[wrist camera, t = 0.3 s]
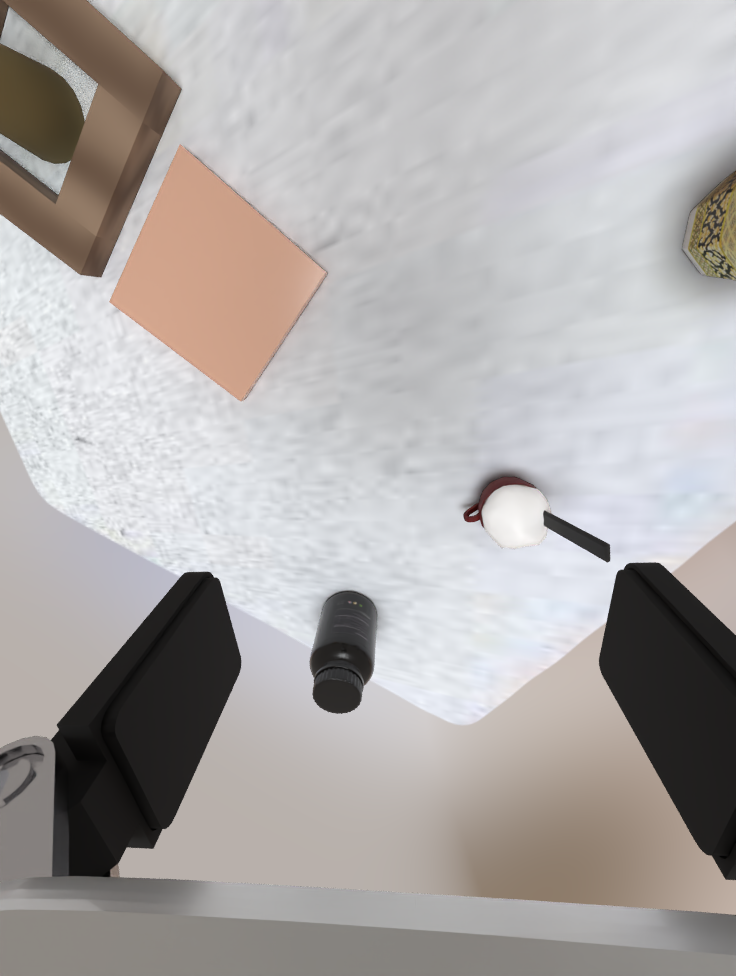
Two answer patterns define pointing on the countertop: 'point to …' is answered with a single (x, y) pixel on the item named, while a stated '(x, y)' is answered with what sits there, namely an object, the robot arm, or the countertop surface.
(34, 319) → the countertop surface
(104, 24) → the frame
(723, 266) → the ceramic cup
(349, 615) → the supplement bottle
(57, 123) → the olive tall flared piece
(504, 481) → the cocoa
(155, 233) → the terracotta tile
